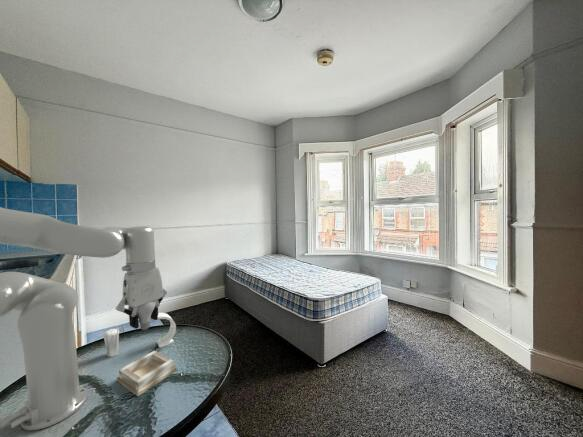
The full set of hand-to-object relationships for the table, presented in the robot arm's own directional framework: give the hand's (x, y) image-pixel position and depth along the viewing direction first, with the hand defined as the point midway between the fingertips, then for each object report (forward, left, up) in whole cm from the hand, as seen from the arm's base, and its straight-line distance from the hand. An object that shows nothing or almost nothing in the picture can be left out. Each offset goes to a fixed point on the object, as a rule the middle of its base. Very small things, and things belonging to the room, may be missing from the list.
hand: (144, 322), depth 74 cm
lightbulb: (0, 0, -3) cm, 3 cm away
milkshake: (0, +22, -18) cm, 28 cm away
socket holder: (0, 0, -18) cm, 18 cm away
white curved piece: (+14, +12, -18) cm, 26 cm away
